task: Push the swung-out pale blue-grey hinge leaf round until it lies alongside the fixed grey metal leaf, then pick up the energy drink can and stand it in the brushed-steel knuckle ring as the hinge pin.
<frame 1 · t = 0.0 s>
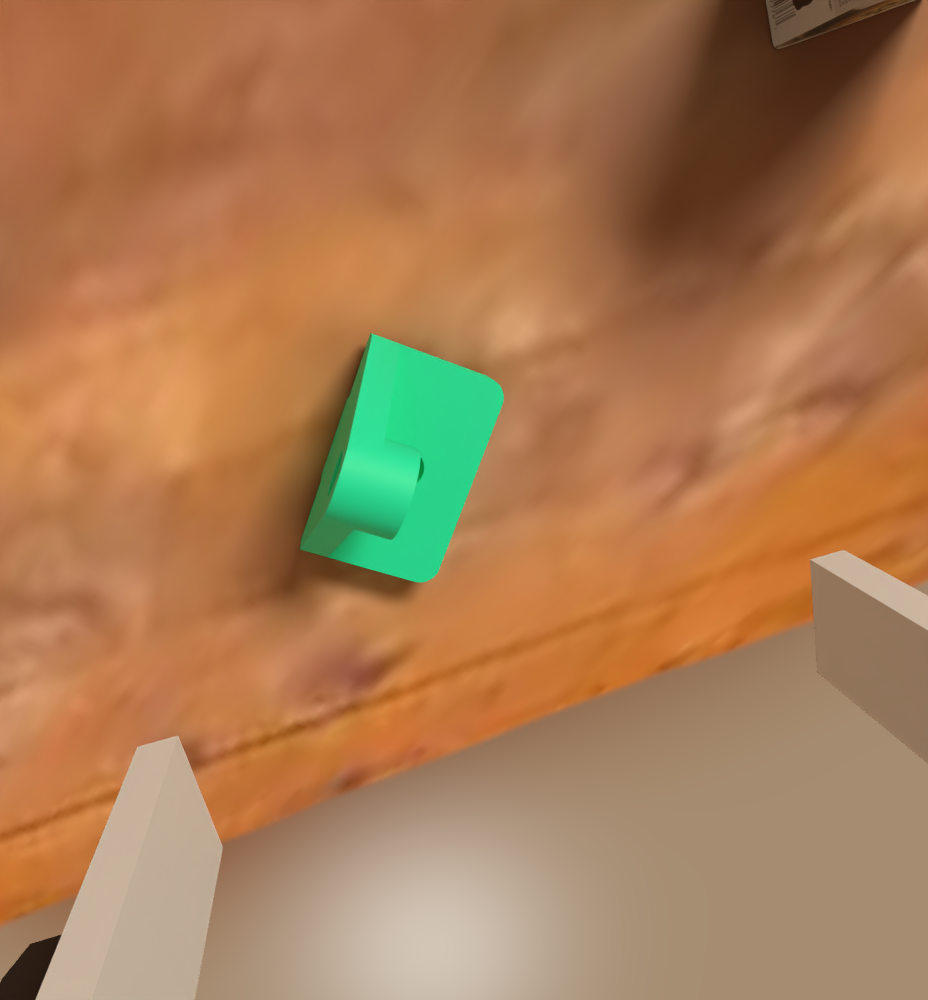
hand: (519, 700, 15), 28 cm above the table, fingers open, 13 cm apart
camera mount: (399, 455, 42), on the table
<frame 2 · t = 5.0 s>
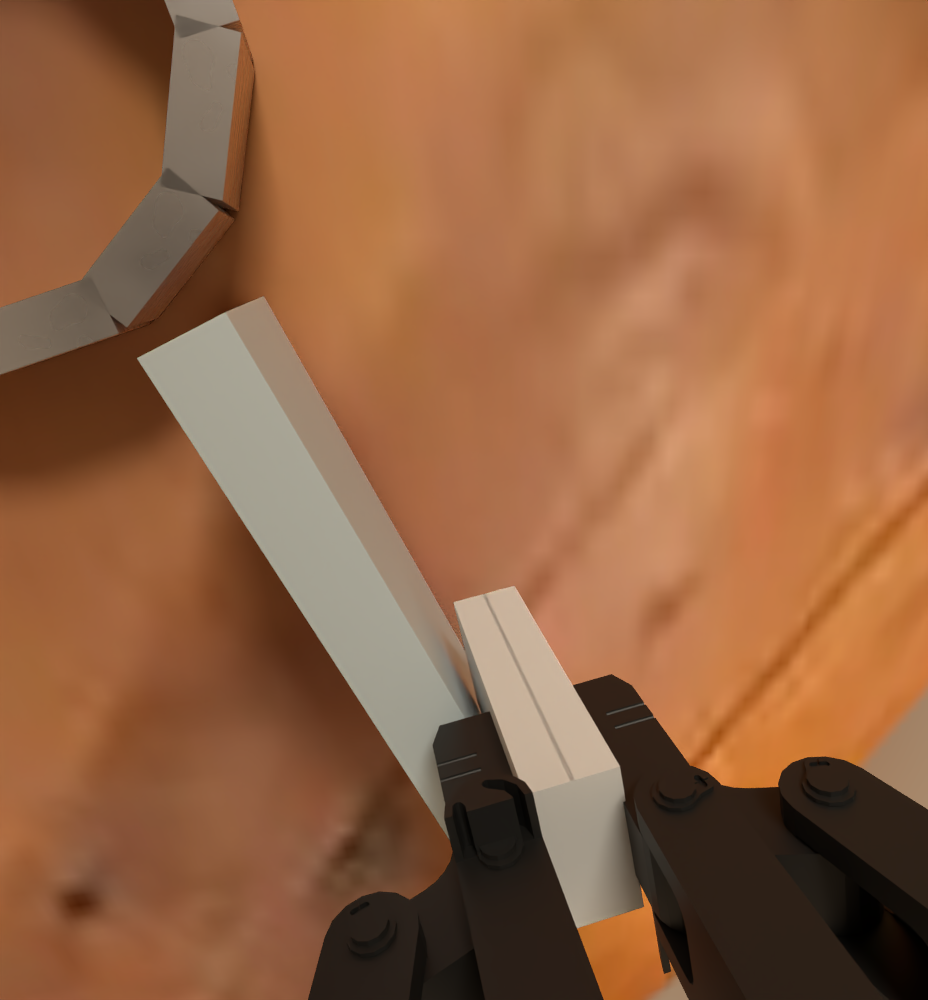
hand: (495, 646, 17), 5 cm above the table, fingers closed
hinge leaf: (382, 598, 17), point 4 cm above the table, hinge at 67.8°, touching gripper
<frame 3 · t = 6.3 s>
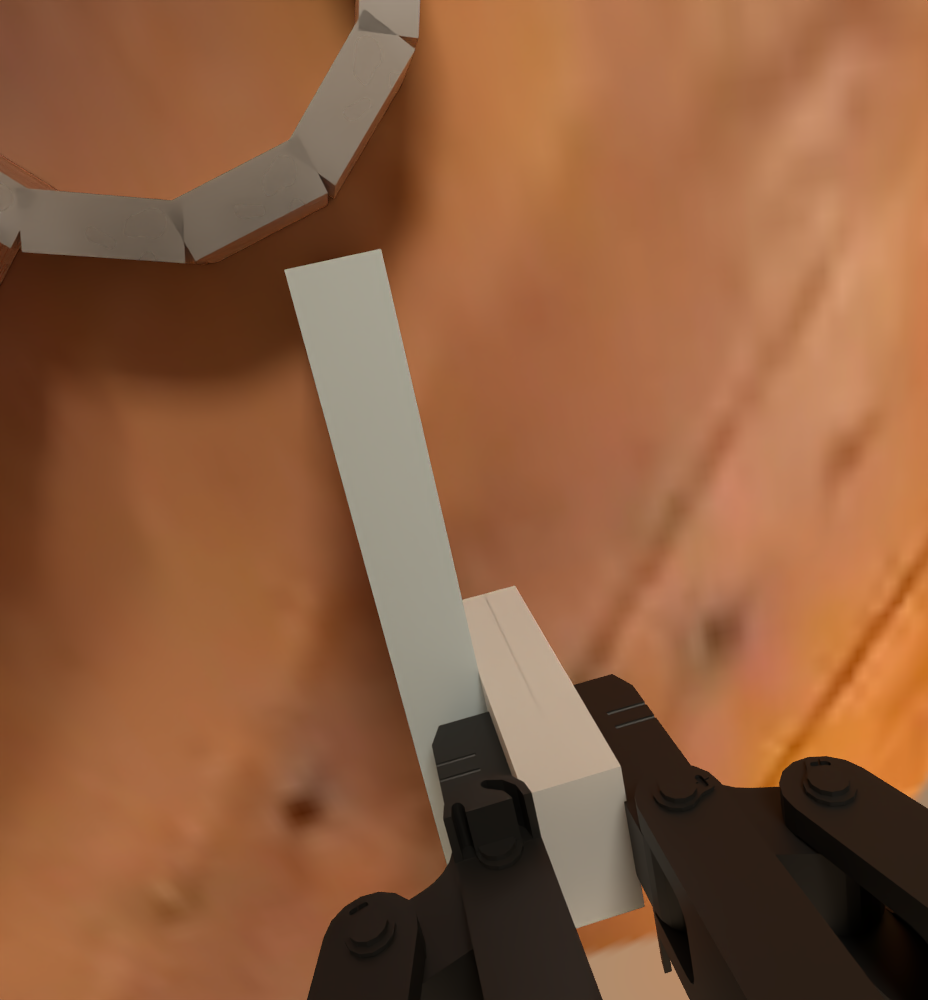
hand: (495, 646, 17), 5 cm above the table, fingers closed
hinge leaf: (410, 575, 17), point 4 cm above the table, hinge at 45.7°, touching gripper
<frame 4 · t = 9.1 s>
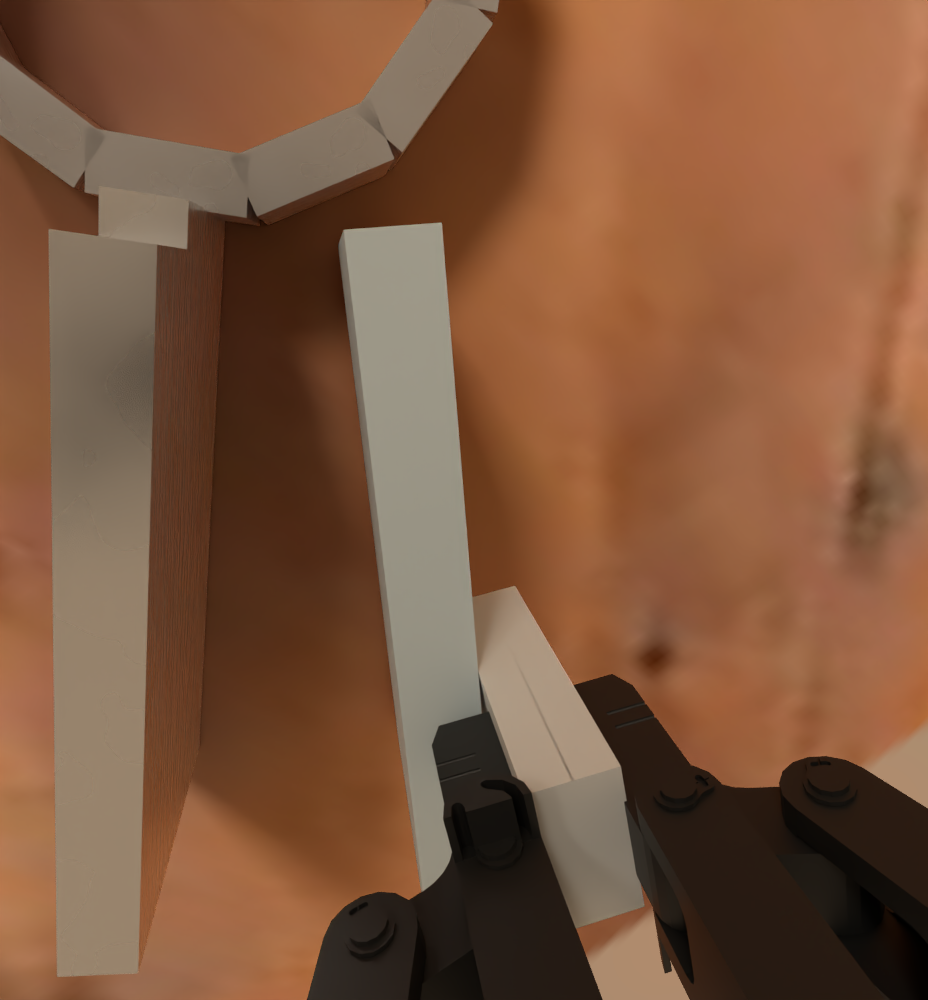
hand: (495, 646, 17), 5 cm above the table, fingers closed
hinge leaf: (412, 561, 17), point 4 cm above the table, hinge at 12.5°, touching gripper
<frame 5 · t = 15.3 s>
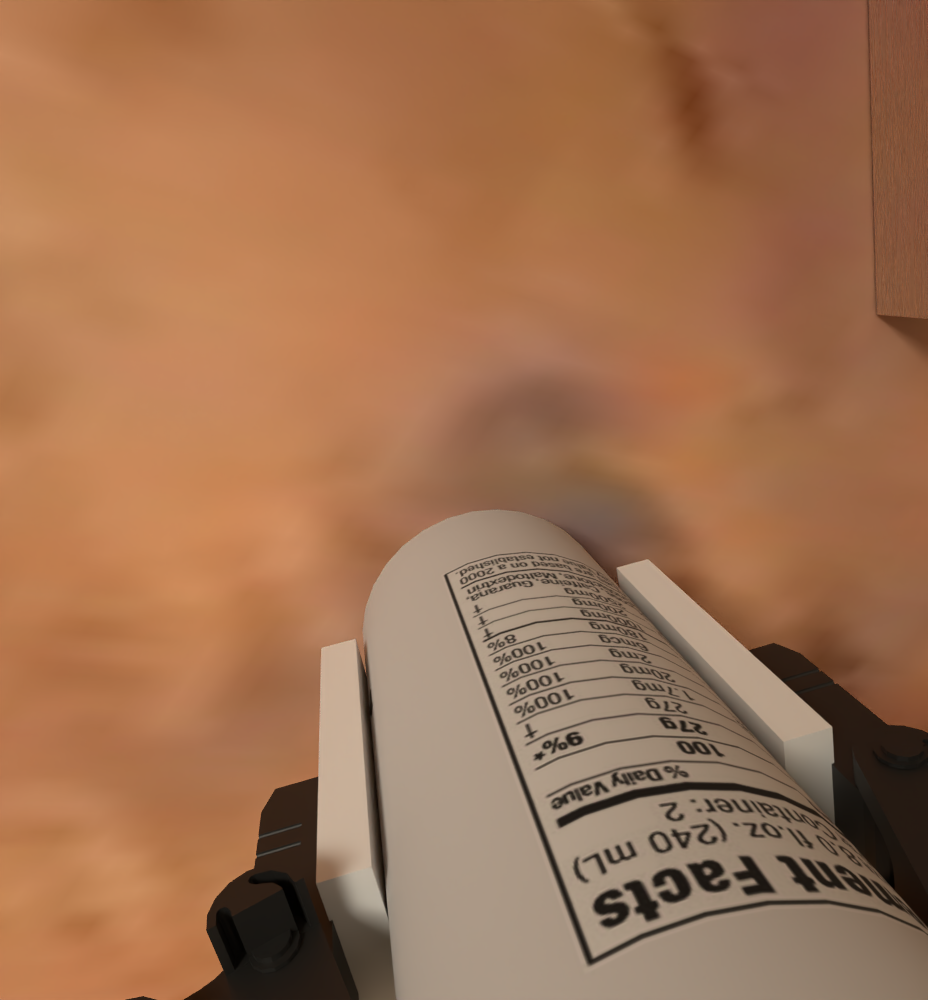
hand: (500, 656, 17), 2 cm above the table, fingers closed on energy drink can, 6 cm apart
energy drink can: (478, 606, 19), on the table, touching gripper
when the fingers open (4 cm above the table, at t = 23.2 s): energy drink can drops 2 cm, resting in hinge fixed.
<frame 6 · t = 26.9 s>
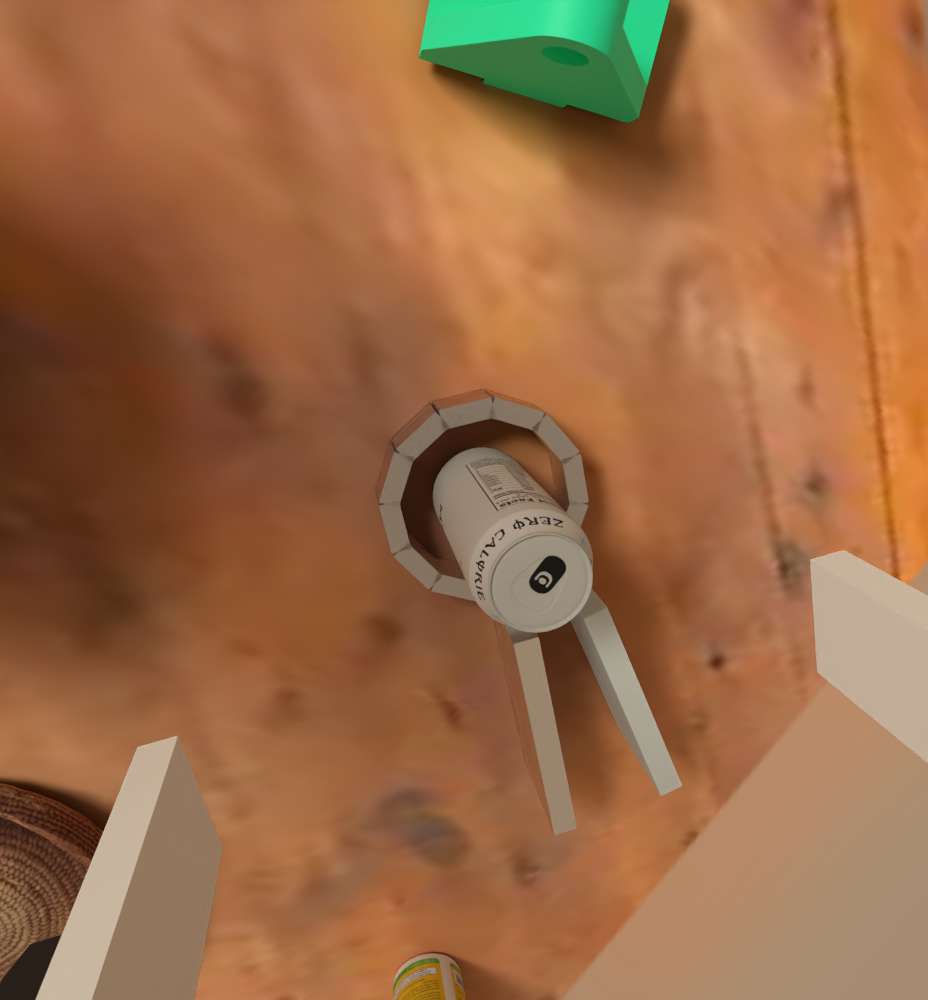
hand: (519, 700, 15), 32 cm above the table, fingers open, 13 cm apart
hinge leaf: (613, 674, 48), point 4 cm above the table, hinge at 12.0°
hinge fixed: (477, 489, 47), on the table
energy drink can: (477, 489, 47), resting in hinge fixed
supplement bottle: (426, 975, 58), on the table
camera mount: (538, 21, 40), on the table
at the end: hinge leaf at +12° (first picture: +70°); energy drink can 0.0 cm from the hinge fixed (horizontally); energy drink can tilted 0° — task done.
